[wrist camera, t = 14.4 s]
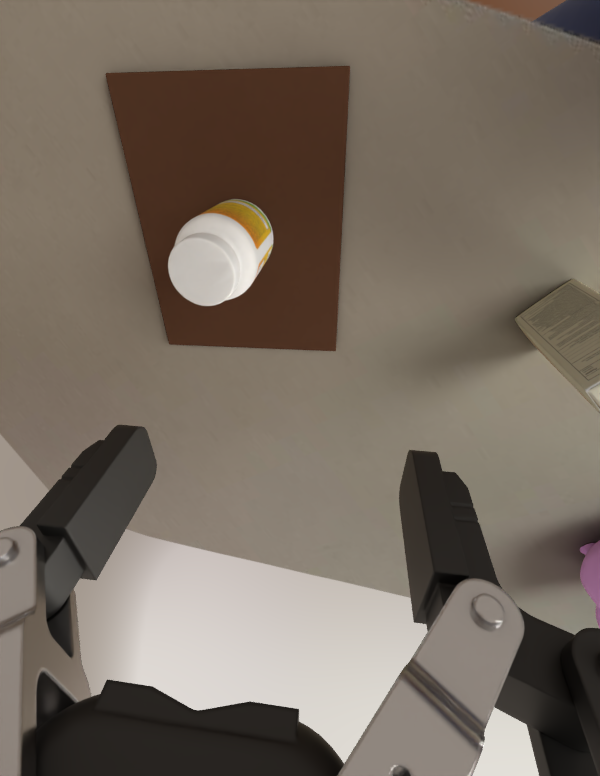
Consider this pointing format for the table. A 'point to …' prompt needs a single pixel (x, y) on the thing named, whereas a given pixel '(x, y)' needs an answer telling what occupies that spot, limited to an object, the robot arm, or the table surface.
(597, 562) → the teapot
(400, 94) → the table surface
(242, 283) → the supplement bottle
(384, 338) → the table surface
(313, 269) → the mat
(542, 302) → the box
